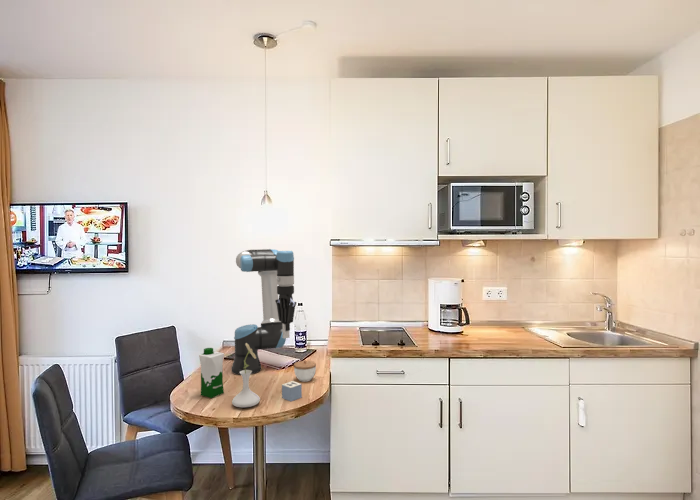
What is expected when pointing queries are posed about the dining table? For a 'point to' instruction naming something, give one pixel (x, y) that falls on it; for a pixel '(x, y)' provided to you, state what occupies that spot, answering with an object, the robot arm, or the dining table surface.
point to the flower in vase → (246, 388)
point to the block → (291, 391)
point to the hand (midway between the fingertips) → (286, 337)
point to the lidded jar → (305, 370)
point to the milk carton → (211, 373)
